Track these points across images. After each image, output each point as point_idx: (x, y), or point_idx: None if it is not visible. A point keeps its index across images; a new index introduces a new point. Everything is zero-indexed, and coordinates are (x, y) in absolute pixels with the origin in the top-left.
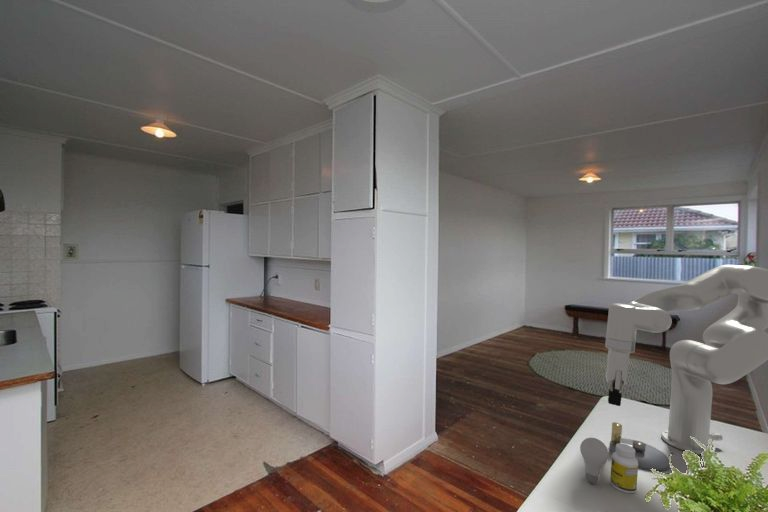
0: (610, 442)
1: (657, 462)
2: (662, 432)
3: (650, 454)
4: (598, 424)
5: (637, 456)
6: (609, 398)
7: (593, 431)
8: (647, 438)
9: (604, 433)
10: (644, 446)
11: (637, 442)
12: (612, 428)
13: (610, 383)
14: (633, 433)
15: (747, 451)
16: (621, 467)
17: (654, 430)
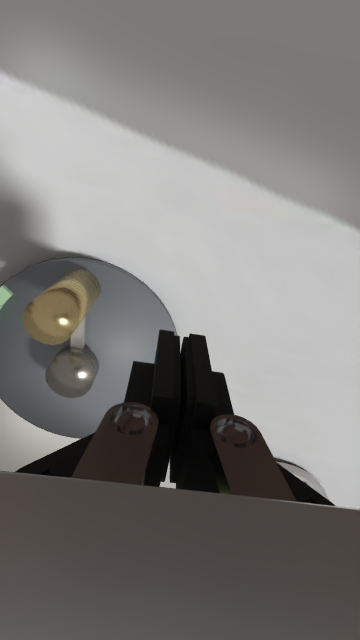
0: (101, 268)
1: (26, 398)
2: (296, 475)
3: None
4: (322, 258)
5: (32, 345)
6: (156, 354)
7: (231, 218)
8: (252, 416)
9: (230, 267)
10: (53, 389)
11: (73, 373)
12: (49, 289)
13: (245, 470)
14: (279, 381)
15: None
16: None
17: (334, 455)
